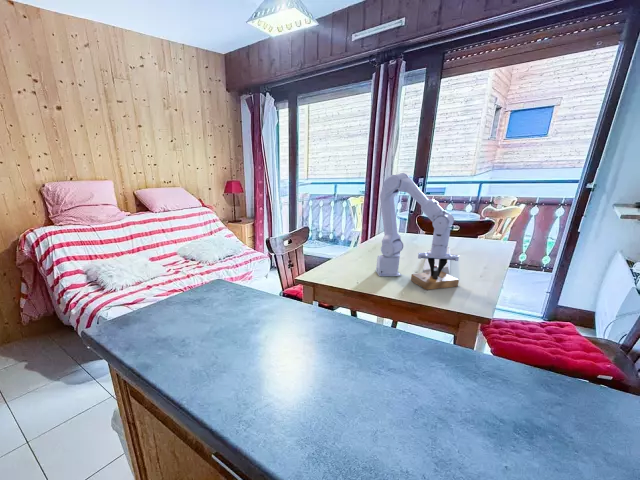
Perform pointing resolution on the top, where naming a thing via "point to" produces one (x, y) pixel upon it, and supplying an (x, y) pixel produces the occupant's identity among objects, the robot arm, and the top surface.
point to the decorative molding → (437, 264)
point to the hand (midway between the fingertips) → (434, 275)
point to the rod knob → (435, 272)
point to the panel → (434, 280)
